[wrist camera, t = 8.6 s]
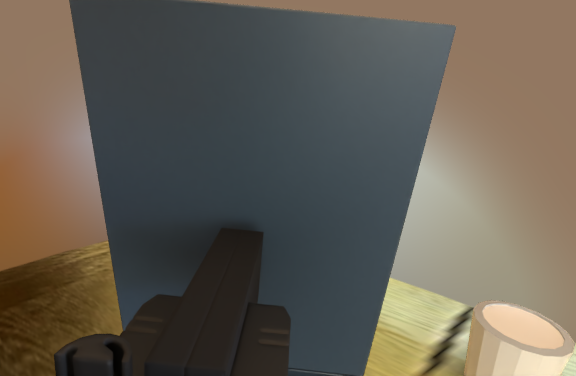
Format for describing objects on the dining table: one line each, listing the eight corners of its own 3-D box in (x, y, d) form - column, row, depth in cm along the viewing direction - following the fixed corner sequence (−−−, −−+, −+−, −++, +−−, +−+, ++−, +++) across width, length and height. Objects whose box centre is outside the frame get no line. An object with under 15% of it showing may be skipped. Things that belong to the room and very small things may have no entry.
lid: (81, -11, 12) (66, -12, 11) (448, 24, 11) (457, 25, 11) (132, 336, 19) (125, 350, 18) (361, 362, 18) (363, 377, 18)
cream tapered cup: (439, 384, 31) (457, 313, 29) (479, 355, 35) (497, 291, 33) (526, 450, 26) (555, 369, 24) (561, 407, 30) (588, 335, 28)
